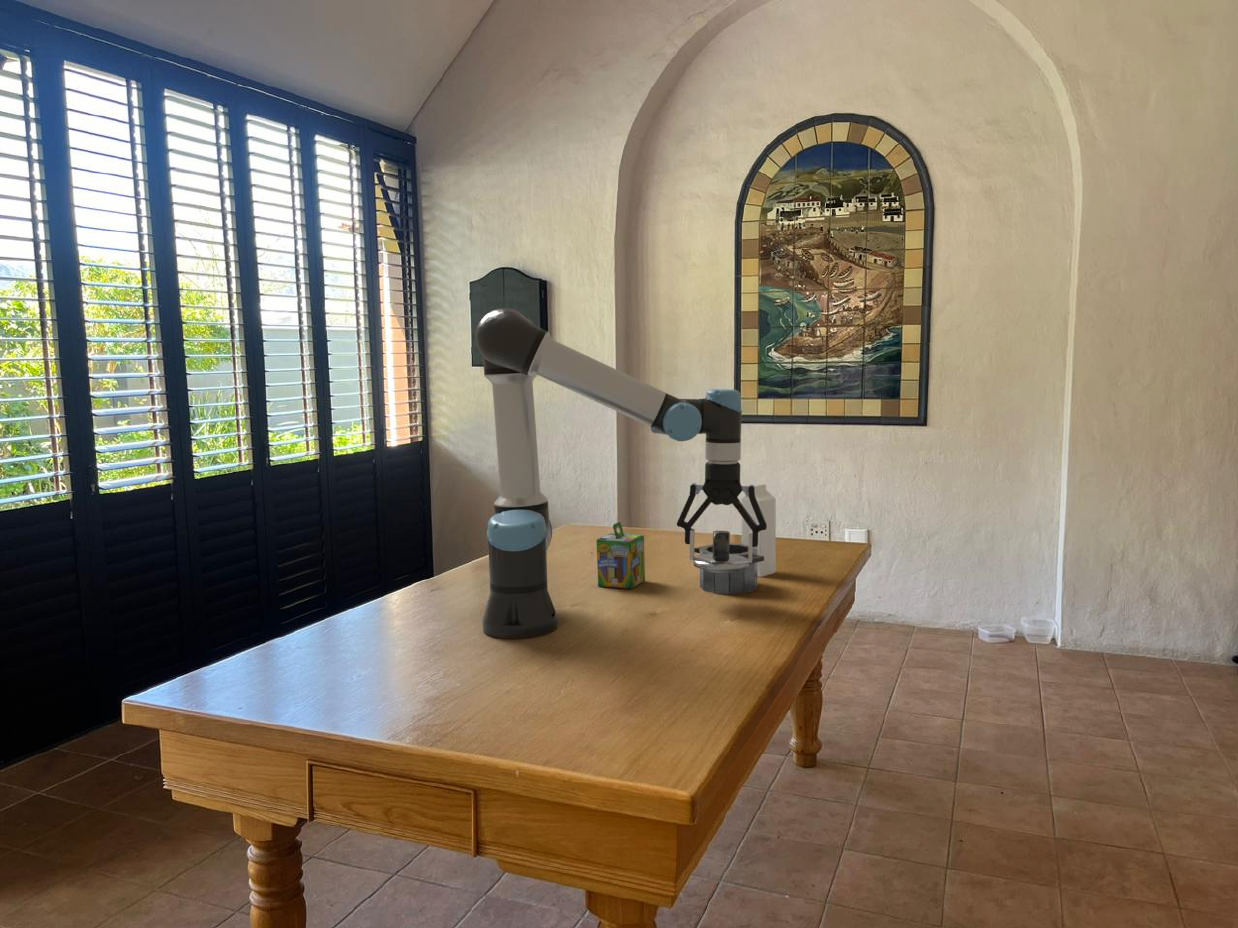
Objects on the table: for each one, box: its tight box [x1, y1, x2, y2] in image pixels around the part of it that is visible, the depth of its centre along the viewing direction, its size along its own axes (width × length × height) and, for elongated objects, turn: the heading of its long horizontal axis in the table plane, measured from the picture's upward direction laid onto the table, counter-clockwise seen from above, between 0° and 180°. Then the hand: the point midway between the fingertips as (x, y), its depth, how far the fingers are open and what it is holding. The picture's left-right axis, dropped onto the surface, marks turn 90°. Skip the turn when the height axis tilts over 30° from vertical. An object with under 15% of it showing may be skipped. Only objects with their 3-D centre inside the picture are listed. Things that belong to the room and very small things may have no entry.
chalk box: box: [596, 521, 646, 590], centre depth 225 cm, size 9×9×15 cm
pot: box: [694, 542, 764, 595], centre depth 220 cm, size 13×18×9 cm
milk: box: [741, 483, 777, 578], centre depth 232 cm, size 6×6×22 cm
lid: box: [692, 530, 749, 574], centre depth 204 cm, size 12×12×8 cm
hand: (720, 560), depth 204 cm, fingers closed on lid, 12 cm apart
